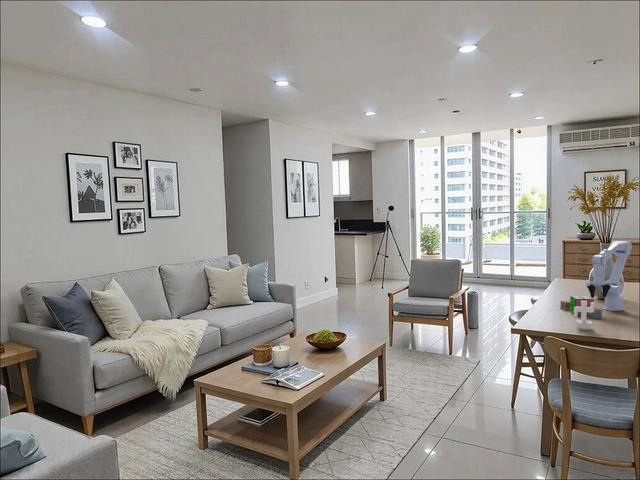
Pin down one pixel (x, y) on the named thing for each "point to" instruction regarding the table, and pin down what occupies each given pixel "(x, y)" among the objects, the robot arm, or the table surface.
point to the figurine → (584, 315)
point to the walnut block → (565, 305)
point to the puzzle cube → (579, 302)
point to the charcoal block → (595, 313)
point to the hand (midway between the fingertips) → (598, 297)
